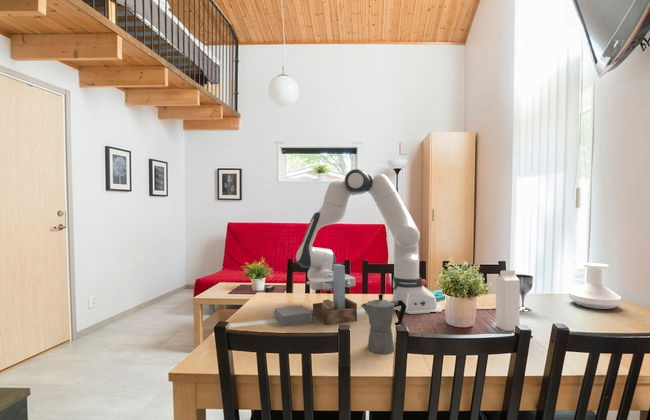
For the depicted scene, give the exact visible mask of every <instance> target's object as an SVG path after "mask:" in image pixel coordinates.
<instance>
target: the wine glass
mask: <svg viewBox="0 0 650 420" xmlns="http://www.w3.org/2000/svg"><path fill="white" fill-rule="evenodd" d="M515 275H516V276H517V277H518V279H519V280H520V297H521V298H520V299H521V305H520V312H532V309H531V308H529V307H525V297H526V295H527V294H528V293H529V292H530V291H531V290H532V288H533V283H534V276H532V275H530V274H529V275H528V274H524V273H523V274H521V273H520V274H517V273H515Z"/></svg>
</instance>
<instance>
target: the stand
mask: <svg viewBox="0 0 650 420" xmlns="http://www.w3.org/2000/svg"><path fill="white" fill-rule="evenodd" d="M312 318H313V311H312V312H311V311H310V310H309V309H308V308H306V307H305V306H303V304H301V305H293V306H292V305H291V306H284V307H274V319H275V320H276V321H277V322H278V323H279V324H280V325H281V327H288V326H289V327H290V326H295V325H303V324H309V323H310V324H311V323H312V322H313V321H312V320H313V319H312Z"/></svg>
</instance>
